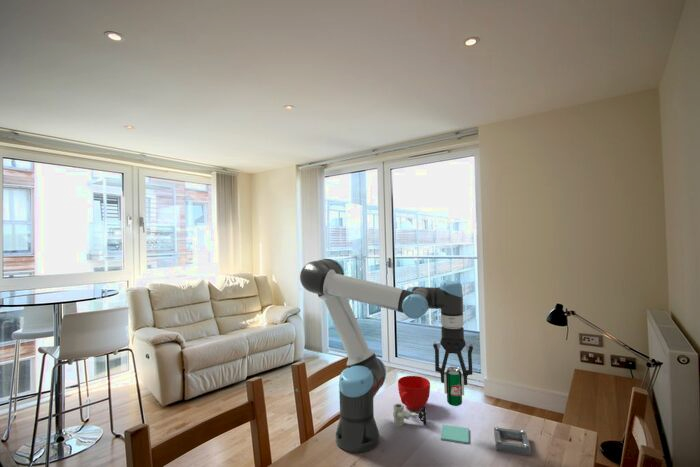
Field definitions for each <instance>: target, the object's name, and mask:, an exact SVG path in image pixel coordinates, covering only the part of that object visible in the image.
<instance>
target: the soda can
mask: <svg viewBox="0 0 700 467" xmlns="http://www.w3.org/2000/svg"><path fill="white" fill-rule="evenodd" d="M445 372H446V378H447V394H446V402H447V403H448V404H449V406H451V407H459V406H461V405H462V404H463V395H462V383H461V373H462V370H461V368H459V367H456V366H449V367H447V369H446V370H445Z"/></svg>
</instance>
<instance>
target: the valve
mask: <svg viewBox="0 0 700 467" xmlns="http://www.w3.org/2000/svg"><path fill="white" fill-rule="evenodd" d="M404 406H405V405H404V404H403V403H395V404H394V405H393V406H392V407H393V411H392V414H393V415H392V416H393V424H394V425H395V426H400V427H402V426H403V425H405V419H406V420H409V419H410V418H412V419H415V418H418V419H419V420H420V422H422V424H423V426H427V411H426V410H427V409H426V408H427V407H426V405H424V406H422V409H420V410H419V412H418V413H416V412H410V411H409V410H405V409H404V408H405V407H404Z"/></svg>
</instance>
